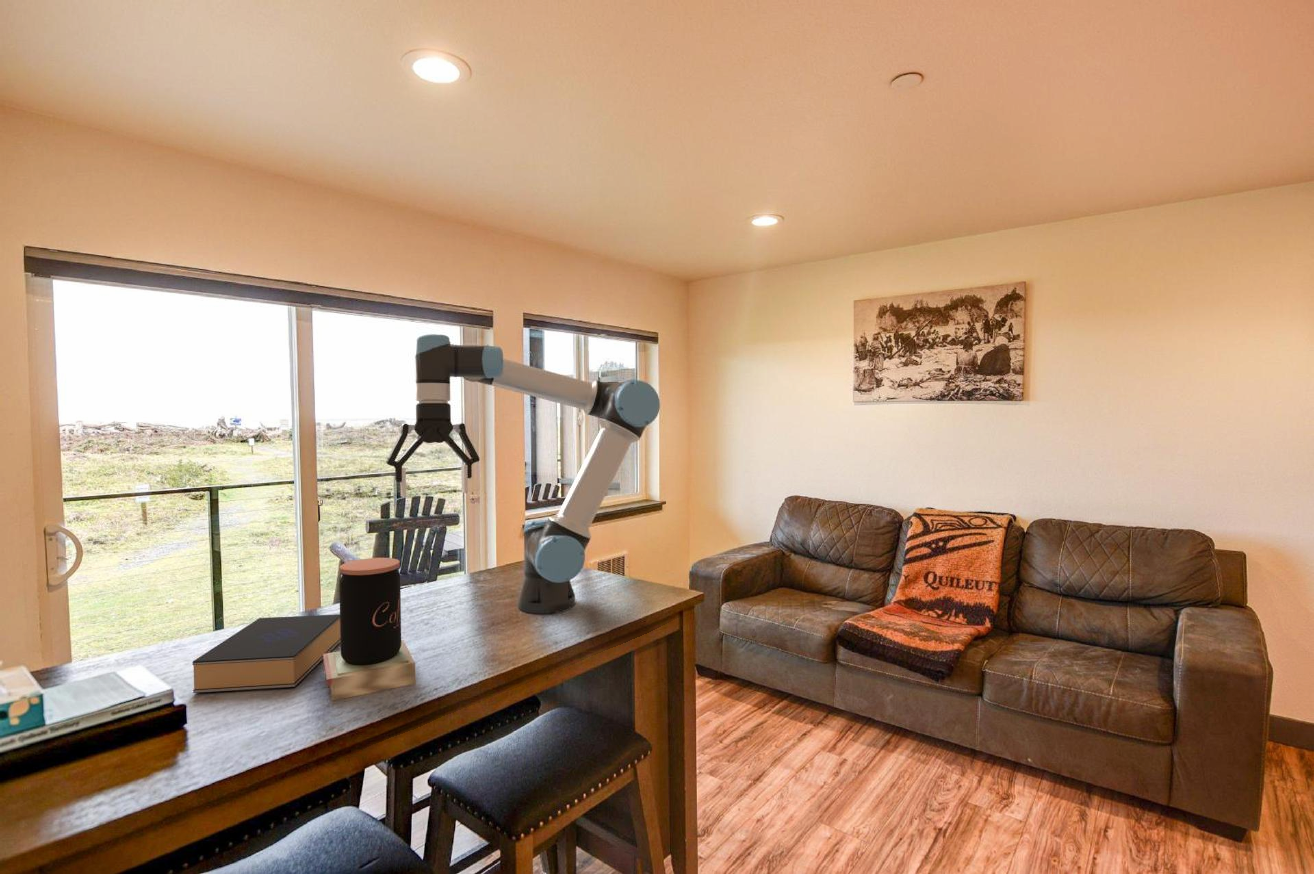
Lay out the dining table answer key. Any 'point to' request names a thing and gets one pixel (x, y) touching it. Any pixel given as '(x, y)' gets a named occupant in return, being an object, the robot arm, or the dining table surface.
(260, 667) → the book
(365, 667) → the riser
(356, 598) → the coffee jar
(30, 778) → the dining table surface
